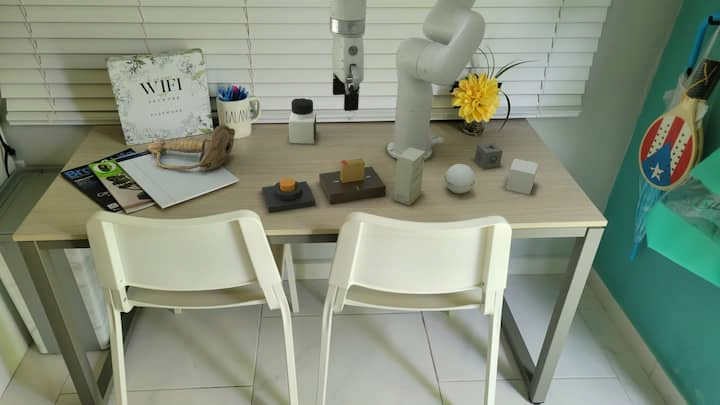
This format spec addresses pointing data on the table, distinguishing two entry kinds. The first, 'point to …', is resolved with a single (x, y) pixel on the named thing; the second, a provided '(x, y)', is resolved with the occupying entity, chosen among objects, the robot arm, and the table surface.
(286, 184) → the bell button
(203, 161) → the sword hilt
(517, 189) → the light grey cube
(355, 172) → the lock turn
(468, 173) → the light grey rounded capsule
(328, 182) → the plate
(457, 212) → the table surface
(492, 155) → the dice cube
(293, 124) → the medicine bottle
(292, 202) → the black knob base
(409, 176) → the cosmetic box
